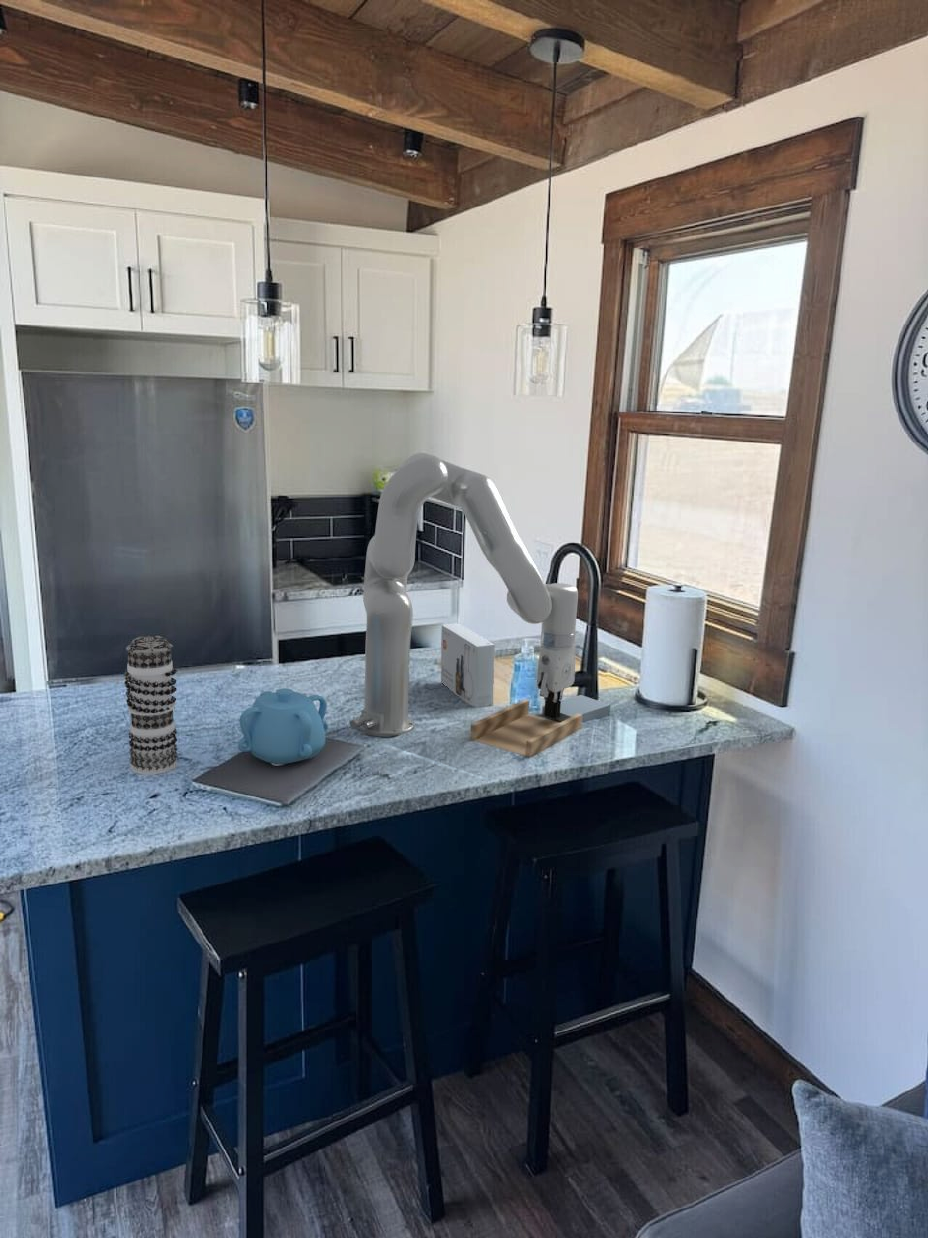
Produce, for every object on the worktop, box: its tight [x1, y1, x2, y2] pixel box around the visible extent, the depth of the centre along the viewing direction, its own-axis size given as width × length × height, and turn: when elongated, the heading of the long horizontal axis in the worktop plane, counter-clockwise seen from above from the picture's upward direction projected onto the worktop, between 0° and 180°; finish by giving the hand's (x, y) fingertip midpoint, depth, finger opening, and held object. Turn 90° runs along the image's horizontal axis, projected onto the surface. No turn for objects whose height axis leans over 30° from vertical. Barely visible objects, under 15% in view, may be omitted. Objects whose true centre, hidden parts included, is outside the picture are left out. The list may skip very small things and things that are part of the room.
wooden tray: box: [469, 699, 583, 758], centre depth 184 cm, size 22×15×4 cm
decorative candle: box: [123, 635, 179, 776], centre depth 157 cm, size 9×9×25 cm
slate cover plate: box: [541, 694, 611, 723], centre depth 198 cm, size 14×9×3 cm, turn 133°
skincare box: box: [440, 622, 496, 708], centre depth 208 cm, size 21×6×16 cm, turn 25°
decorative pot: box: [237, 687, 329, 765], centre depth 167 cm, size 16×16×14 cm
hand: (551, 716), depth 193 cm, fingers closed
